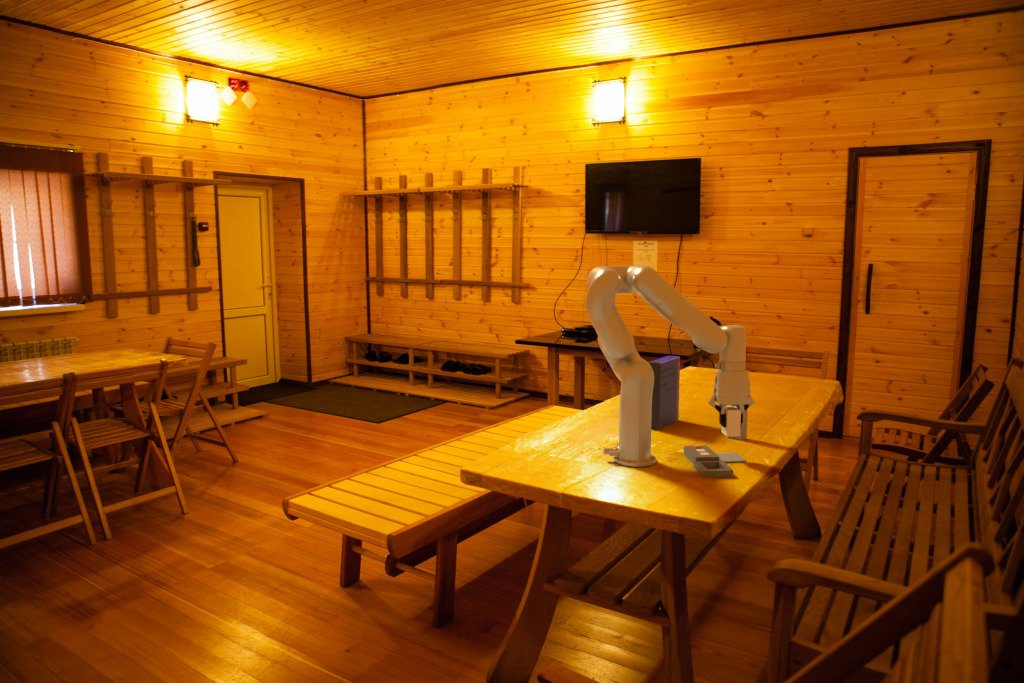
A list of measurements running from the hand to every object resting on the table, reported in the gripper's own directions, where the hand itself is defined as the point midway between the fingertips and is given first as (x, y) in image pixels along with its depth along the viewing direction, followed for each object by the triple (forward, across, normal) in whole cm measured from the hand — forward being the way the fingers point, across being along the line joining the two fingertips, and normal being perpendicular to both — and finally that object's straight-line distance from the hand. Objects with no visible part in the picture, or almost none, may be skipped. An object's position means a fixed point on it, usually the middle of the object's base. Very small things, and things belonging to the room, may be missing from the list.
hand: (730, 425), depth 214 cm
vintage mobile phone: (+11, +10, +22) cm, 27 cm away
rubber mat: (+10, 0, 0) cm, 11 cm away
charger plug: (+3, 0, 0) cm, 3 cm away
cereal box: (+11, -10, +42) cm, 44 cm away
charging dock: (+10, -9, -6) cm, 15 cm away
